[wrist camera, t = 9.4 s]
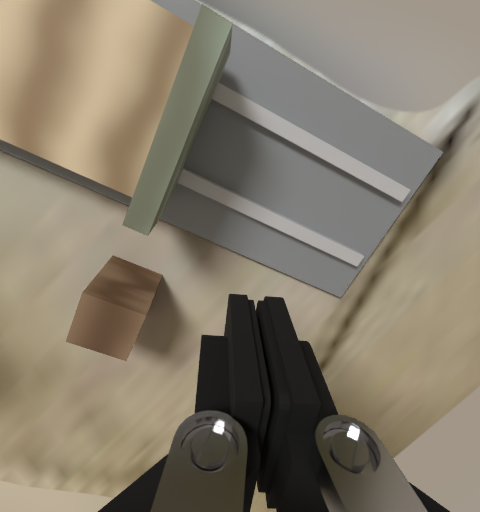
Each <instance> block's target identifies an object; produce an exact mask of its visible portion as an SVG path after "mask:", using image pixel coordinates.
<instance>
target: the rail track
mask: <svg viewBox="0 0 480 512" xmlns="http://www.w3.org/2000/svg"><path fill="white" fill-rule="evenodd" d="M151 1H152V2H154V3H156V4H157V5H159V6H161V7H163V8H164V9H166V10H168V11H169V12H171V13H173V14H174V15H176V16H178V17H179V18H181V19H183V20H184V21H186V22H188V23H190V24H191V25H193V26H194V25H195V22H196V20H197V17H198V14H199V11H200V9H201V6H202V5H201V4H200V3H198V2H197V1H195V0H151ZM0 150H2V151H4V152H6V153H8V154H11V155H13V156H15V157H18V158H20V159H22V160H25V161H27V162H29V163H31V164H34V165H36V166H38V167H41V168H43V169H45V170H48V171H50V172H52V173H54V174H57V175H59V176H61V177H64V178H66V179H68V180H71V181H73V182H75V183H77V184H80V185H82V186H84V187H87V188H89V189H91V190H94V191H96V192H98V193H101V194H103V195H105V196H107V197H110V198H112V199H114V200H117V201H119V202H121V203H124V204H126V205H128V206H130V203H131V200H132V197H130V196H128V195H125V194H123V193H121V192H118V191H116V190H114V189H112V188H109V187H107V186H105V185H103V184H100V183H98V182H96V181H94V180H91V179H89V178H87V177H84V176H82V175H80V174H78V173H75V172H73V171H71V170H69V169H66V168H64V167H62V166H60V165H57V164H55V163H53V162H50V161H48V160H46V159H44V158H41V157H39V156H37V155H35V154H32V153H30V152H28V151H26V150H23V149H21V148H19V147H17V146H14V145H12V144H10V143H7V142H5V141H3V140H1V139H0ZM442 153H443V152H442V151H440V150H439V149H437V148H436V147H434V146H432V145H431V144H429V143H427V142H426V141H424V140H422V139H421V138H419V137H418V136H416V135H414V134H413V133H411V132H409V131H408V130H406V129H404V128H403V127H401V126H400V125H398V124H396V123H395V122H393V121H391V120H390V119H388V118H386V117H385V116H383V115H382V114H380V113H378V112H377V111H375V110H373V109H372V108H370V107H368V106H367V105H365V104H364V103H362V102H360V101H359V100H357V99H355V98H354V97H352V96H350V95H349V94H347V93H345V92H344V91H342V90H341V89H339V88H337V87H336V86H334V85H332V84H331V83H329V82H327V81H326V80H324V79H323V78H321V77H319V76H318V75H316V74H314V73H313V72H311V71H309V70H308V69H306V68H305V67H303V66H301V65H300V64H298V63H296V62H295V61H293V60H291V59H290V58H288V57H287V56H285V55H283V54H282V53H280V52H278V51H277V50H275V49H273V48H272V47H270V46H269V45H267V44H265V43H264V42H262V41H260V40H259V39H257V38H255V37H254V36H252V35H251V34H249V33H247V32H246V31H244V30H242V29H241V28H239V27H237V26H236V25H234V24H233V26H232V37H231V49H230V55H229V58H228V60H227V63H226V65H225V67H224V70H223V72H222V75H221V77H220V80H219V82H218V85H217V87H216V89H215V92H214V94H213V97H212V99H211V102H210V104H209V107H208V109H207V111H206V114H205V116H204V119H203V121H202V124H201V126H200V129H199V131H198V134H197V136H196V138H195V141H194V143H193V146H192V148H191V151H190V153H189V156H188V158H187V160H186V163H185V165H184V168H183V170H182V173H181V175H180V178H179V180H178V182H177V185H176V187H175V190H174V192H173V195H172V197H171V200H170V202H169V205H168V206H167V208H166V209H165V211H164V212H163V214H162V215H161V217H160V218H159V219H160V220H163V221H165V222H167V223H170V224H172V225H174V226H177V227H179V228H181V229H183V230H186V231H188V232H190V233H193V234H195V235H197V236H200V237H202V238H204V239H206V240H209V241H211V242H213V243H216V244H218V245H220V246H223V247H225V248H227V249H229V250H232V251H234V252H236V253H239V254H241V255H243V256H246V257H248V258H250V259H253V260H255V261H257V262H259V263H262V264H264V265H266V266H269V267H271V268H273V269H276V270H278V271H280V272H282V273H285V274H287V275H289V276H292V277H294V278H296V279H299V280H301V281H303V282H305V283H308V284H310V285H312V286H315V287H317V288H319V289H322V290H324V291H326V292H329V293H331V294H333V295H335V296H338V297H340V298H341V296H342V295H343V294H344V292H345V291H346V289H347V288H348V286H349V285H350V284H351V282H352V281H353V279H354V278H355V277H356V275H357V274H358V272H359V271H360V269H361V268H362V267H363V265H364V264H365V262H366V261H367V260H368V258H369V257H370V255H371V254H372V252H373V251H374V250H375V248H376V247H377V245H378V244H379V242H380V241H381V240H382V238H383V237H384V235H385V234H386V233H387V231H388V230H389V228H390V227H391V225H392V224H393V223H394V221H395V220H396V218H397V217H398V216H399V214H400V213H401V211H402V210H403V208H404V207H405V206H406V204H407V203H408V201H409V200H410V199H411V197H412V196H413V194H414V193H415V191H416V190H417V189H418V187H419V186H420V184H421V183H422V181H423V180H424V179H425V177H426V176H427V174H428V173H429V172H430V170H431V169H432V167H433V166H434V164H435V163H436V162H437V160H438V159H439V157H440V156H441V155H442Z"/></svg>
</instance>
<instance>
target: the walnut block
mask: <svg viewBox="0 0 480 512" xmlns="http://www.w3.org/2000/svg"><path fill="white" fill-rule="evenodd" d="M161 278H162V275H161V274H159V273H156V272H153V271H151V270H148V269H146V268H143V267H141V266H138V265H136V264H133V263H131V262H128V261H126V260H123V259H121V258H118V257H115V256H112V257H111V258H110V260H109V261H108V262H107V263H106V265H105V266H104V267H103V268H102V269H101V271H100V272H99V273H98V274H97V276H96V277H95V278H94V279H93V280H92V282H91V283H90V284H89V285H88V286H87V288H86V289H85V290H84V291H83V293H82V295H81V298H80V301H79V304H78V307H77V310H76V313H75V316H74V319H73V322H72V325H71V328H70V331H69V334H68V337H67V339H66V342H69V343H72V344H75V345H78V346H81V347H84V348H87V349H90V350H94V351H97V352H100V353H103V354H106V355H109V356H112V357H115V358H118V359H121V360H125V361H127V358H128V356H129V354H130V352H131V349H132V347H133V345H134V343H135V340H136V338H137V336H138V334H139V331H140V329H141V327H142V325H143V322H144V320H145V318H146V315H147V313H148V310H149V308H150V305H151V303H152V300H153V298H154V295H155V293H156V290H157V288H158V285H159V283H160V280H161Z"/></svg>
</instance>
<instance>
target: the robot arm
mask: <svg viewBox="0 0 480 512" xmlns="http://www.w3.org/2000/svg"><path fill="white" fill-rule="evenodd" d="M256 481H257V487H258V491H259V492H265V493H266V501H267V508H276V510H277V512H450V511H448V510H447V509H446V508H444V507H443V506H441V505H440V504H438V503H437V502H436V501H434V500H433V499H432V498H430V497H429V496H428V495H426V494H425V493H423V492H422V491H421V490H419V489H418V488H416V487H415V486H414V485H412V484H411V483H410V482H408V481H407V479H406V478H405V476H404V475H403V473H402V471H401V470H400V469H399V467H398V465H397V464H396V462H395V461H394V459H393V458H392V456H391V455H390V453H389V451H388V450H387V448H386V447H385V445H384V444H383V442H382V441H381V440H380V438H379V437H378V436H377V435H376V433H375V432H374V431H373V430H371V429H370V428H369V427H368V426H367V425H365V424H364V423H362V422H360V421H358V420H357V419H355V418H352V417H348V416H345V415H338V412H337V410H336V407H335V405H334V402H333V400H332V397H331V395H330V392H329V390H328V387H327V385H326V382H325V380H324V377H323V375H322V372H321V370H320V367H319V365H318V362H317V360H316V357H315V355H314V352H313V350H312V347H311V345H310V343H309V342H307V341H298V338H297V335H296V332H295V330H294V327H293V324H292V321H291V318H290V315H289V313H288V310H287V307H286V304H285V301H284V299H283V298H281V297H267V296H265V298H264V301H258V303H257V308H256V311H255V305H254V300H248V297H247V295H239V294H229V299H228V307H227V315H226V324H225V332H224V336H212V335H202V338H201V349H200V360H199V371H198V382H197V393H196V404H195V414H193V415H191V416H189V417H188V418H186V419H185V420H184V421H183V422H182V423H181V424H180V426H179V427H178V429H177V431H176V433H175V435H174V438H173V441H172V444H171V447H170V451H169V454H167V455H166V456H165V457H164V458H163V459H161V460H160V461H159V462H158V463H156V464H155V465H154V466H153V467H152V468H150V469H149V470H148V471H147V472H146V473H144V474H143V475H142V476H141V477H139V478H138V479H137V480H136V481H135V482H133V483H132V484H131V485H130V486H129V487H127V488H126V489H125V490H124V491H122V492H121V493H120V494H119V495H118V496H116V497H115V498H114V499H113V500H112V501H110V502H109V503H108V504H107V505H105V506H104V507H103V508H102V509H101V510H99V511H98V512H250V508H251V504H252V499H253V494H254V490H255V485H256Z"/></svg>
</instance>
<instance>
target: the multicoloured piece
mask: <svg viewBox="0 0 480 512" xmlns="http://www.w3.org/2000/svg"><path fill="white" fill-rule="evenodd" d="M232 26H233V23H232V22H230V21H229V20H227V19H226V18H224V17H222V16H221V15H219V14H217V13H216V12H214V11H212V10H211V9H209V8H208V7H206V6H204V5H203V4H202V6H201V9H200V11H199V14H198V17H197V20H196V22H195V25H194V26H193V25H191V24H190V23H188V22H186V21H184V20H183V19H181V18H179V17H178V16H176V15H174V14H173V13H171V12H169V11H168V10H166V9H164V8H163V7H161V6H159V5H157V4H156V3H154V2H152V1H151V0H0V139H1V140H3V141H5V142H7V143H10V144H12V145H14V146H17V147H19V148H21V149H23V150H26V151H28V152H30V153H32V154H35V155H37V156H39V157H41V158H44V159H46V160H48V161H50V162H53V163H55V164H57V165H60V166H62V167H64V168H66V169H69V170H71V171H73V172H75V173H78V174H80V175H82V176H84V177H87V178H89V179H91V180H94V181H96V182H98V183H100V184H103V185H105V186H107V187H109V188H112V189H114V190H116V191H118V192H121V193H123V194H125V195H128V196H130V197H132V200H131V203H130V206H129V208H128V211H127V214H126V217H125V219H124V222H123V225H124V226H126V227H128V228H131V229H133V230H136V231H138V232H140V233H143V234H145V235H149V233H150V232H151V230H152V229H153V227H154V226H155V224H156V223H157V221H158V220H159V218H160V217H161V215H162V214H163V212H164V211H165V209H166V208H167V206H168V205H169V202H170V200H171V197H172V195H173V192H174V190H175V187H176V185H177V182H178V180H179V178H180V175H181V173H182V170H183V168H184V165H185V163H186V160H187V158H188V156H189V153H190V151H191V148H192V146H193V143H194V141H195V138H196V136H197V134H198V131H199V129H200V126H201V124H202V121H203V119H204V116H205V114H206V111H207V109H208V107H209V104H210V102H211V99H212V97H213V94H214V92H215V89H216V87H217V85H218V82H219V80H220V77H221V75H222V72H223V70H224V67H225V65H226V63H227V60H228V58H229V55H230V49H231V37H232Z"/></svg>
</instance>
